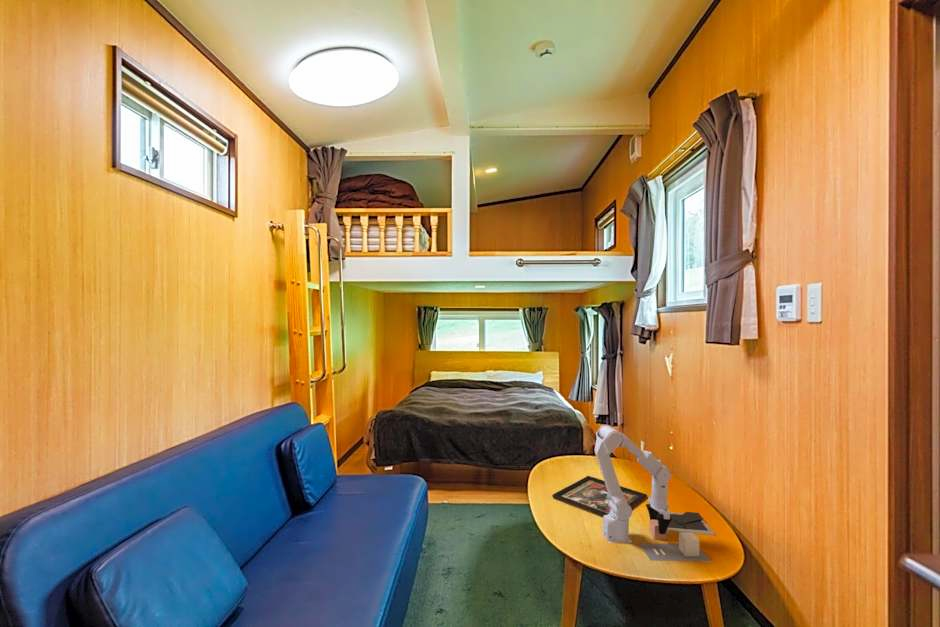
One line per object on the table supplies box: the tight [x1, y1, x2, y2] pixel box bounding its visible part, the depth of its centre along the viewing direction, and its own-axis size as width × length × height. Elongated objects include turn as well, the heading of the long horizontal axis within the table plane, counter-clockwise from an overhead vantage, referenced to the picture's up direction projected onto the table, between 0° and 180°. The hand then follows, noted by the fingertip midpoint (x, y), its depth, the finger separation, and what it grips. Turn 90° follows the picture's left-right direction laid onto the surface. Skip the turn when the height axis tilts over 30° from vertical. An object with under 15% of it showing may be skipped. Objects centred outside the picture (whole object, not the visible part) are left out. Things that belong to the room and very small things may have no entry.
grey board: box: [638, 542, 712, 563], centre depth 159 cm, size 22×11×1 cm, turn 91°
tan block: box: [678, 532, 701, 556], centre depth 159 cm, size 5×5×6 cm
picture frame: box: [658, 511, 716, 536], centre depth 181 cm, size 16×3×21 cm
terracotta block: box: [648, 519, 669, 541], centre depth 170 cm, size 5×5×6 cm
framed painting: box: [551, 475, 648, 519], centre depth 204 cm, size 38×35×3 cm
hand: (657, 528), depth 170 cm, fingers open, 7 cm apart
